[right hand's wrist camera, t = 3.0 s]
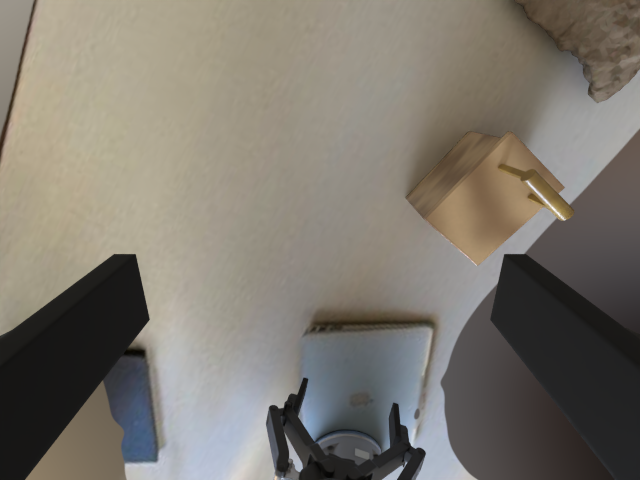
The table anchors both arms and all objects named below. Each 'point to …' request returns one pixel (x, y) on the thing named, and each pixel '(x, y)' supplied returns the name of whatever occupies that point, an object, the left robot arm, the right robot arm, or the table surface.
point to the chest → (450, 171)
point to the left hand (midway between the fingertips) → (348, 398)
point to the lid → (497, 199)
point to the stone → (594, 38)
